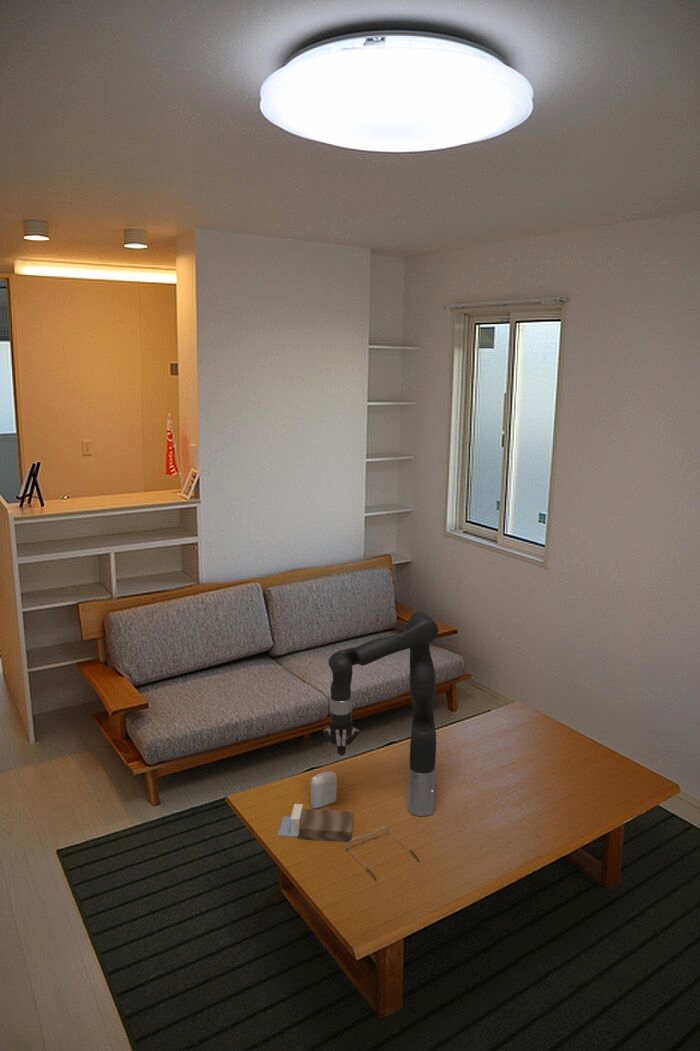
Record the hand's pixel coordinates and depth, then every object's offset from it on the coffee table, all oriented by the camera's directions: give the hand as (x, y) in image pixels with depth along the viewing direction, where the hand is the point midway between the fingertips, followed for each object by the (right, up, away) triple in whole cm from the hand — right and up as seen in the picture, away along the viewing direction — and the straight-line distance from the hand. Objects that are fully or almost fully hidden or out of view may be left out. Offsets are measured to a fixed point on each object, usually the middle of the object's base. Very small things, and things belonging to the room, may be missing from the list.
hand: (341, 754), depth 267 cm
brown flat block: (-5, -26, -1) cm, 27 cm away
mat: (-18, -26, +1) cm, 32 cm away
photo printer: (-7, -23, +15) cm, 28 cm away
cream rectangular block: (-16, -23, 0) cm, 28 cm away
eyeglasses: (+14, -31, -14) cm, 36 cm away
